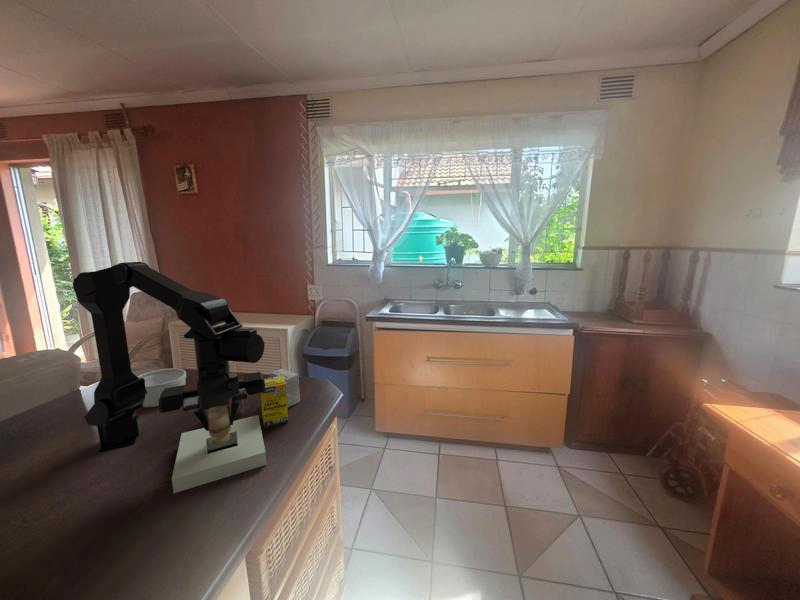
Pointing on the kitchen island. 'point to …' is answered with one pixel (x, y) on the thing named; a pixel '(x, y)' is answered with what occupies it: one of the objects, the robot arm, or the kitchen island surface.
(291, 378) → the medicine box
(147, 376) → the ramekin
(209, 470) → the socket plate
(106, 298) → the robot arm
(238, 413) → the supplement bottle
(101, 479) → the kitchen island surface
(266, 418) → the supplement box
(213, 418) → the wooden peg
